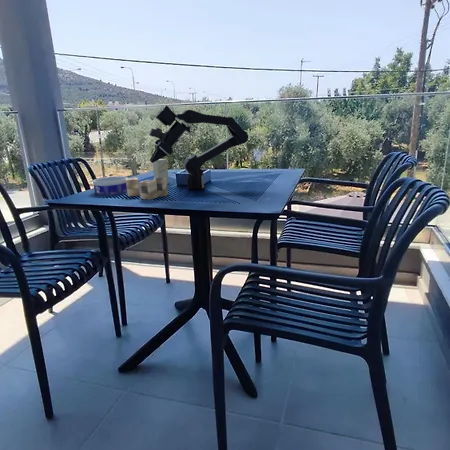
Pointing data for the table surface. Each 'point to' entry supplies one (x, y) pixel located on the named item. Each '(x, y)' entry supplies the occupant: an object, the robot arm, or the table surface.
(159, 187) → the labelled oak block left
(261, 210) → the table surface
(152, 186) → the labelled oak block near
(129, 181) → the plain oak block
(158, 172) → the skincare box
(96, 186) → the dog bowl
